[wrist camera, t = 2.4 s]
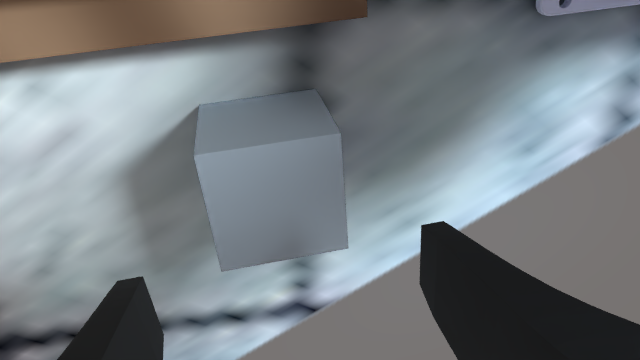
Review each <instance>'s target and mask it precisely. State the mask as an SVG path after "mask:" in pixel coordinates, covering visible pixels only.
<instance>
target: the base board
mask: <svg viewBox="0 0 640 360" xmlns="http://www.w3.org/2000/svg"><path fill="white" fill-rule="evenodd" d="M363 17H367V0H0V63H3V62H11V61H19V60H27V59H35V58H43V57H51V56H59V55H67V54H75V53H83V52H91V51H99V50H107V49H115V48H123V47H131V46H139V45H147V44H155V43H163V42H171V41H179V40H187V39H195V38H203V37H211V36H219V35H227V34H235V33H243V32H251V31H259V30H267V29H275V28H283V27H291V26H299V25H307V24H315V23H323V22H331V21H339V20H347V19H355V18H363Z"/></svg>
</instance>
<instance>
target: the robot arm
mask: <svg viewBox="0 0 640 360" xmlns="http://www.w3.org/2000/svg"><path fill="white" fill-rule="evenodd" d="M559 1H560V0H536V9H537V11H538V12H539V13H540V14H542V15H546V16H555V15H562V14H570V13H578V12H585V11H593V10H600V9H608V8H616V7H623V6H631V5H639V4H640V0H565V1H564V3H563V4H562V5H561V6H559ZM420 286H421V288H422V291H423V293H424V296H425V298H426V301H427V303H428V305H429V308H430V310H431V312H432V315H433V317H434V319H435V320H436V322H437V324H438V326H439V328H440V329H441V331H442V333H443V335H444V336H445V338H446V340H447V342H448V343H449V345H450V347H451V349H452V350H453V352H454V354H455V355H456V357H457V359H458V360H640V325H639V324H636V323H634V322H631V321H628V320H626V319H624V318H621V317H618V316H616V315H613V314H611V313H608V312H606V311H603V310H601V309H598V308H596V307H594V306H591V305H589V304H587V303H585V302H582V301H580V300H578V299H576V298H574V297H572V296H570V295H568V294H565V293H563V292H561V291H559V290H557V289H555V288H553V287H551V286H549V285H547V284H545V283H544V282H542V281H540V280H538V279H536V278H534V277H532V276H531V275H529V274H527V273H525V272H524V271H522V270H520V269H518V268H516V267H515V266H513V265H511V264H510V263H508V262H507V261H505V260H503V259H502V258H500V257H498V256H497V255H495V254H493V253H492V252H490V251H489V250H487V249H485V248H484V247H483V246H481V245H479V244H478V243H476V242H475V241H473V240H472V239H470V238H469V237H467V236H466V235H464V234H463V233H461V232H460V231H458V230H457V229H455V228H453V227H452V226H450V225H449V224H447V223H445V222H444V221H442V222H436V223H431V224H425V225H421V256H420ZM163 342H164V334H163V331H162V329H161V326H160V323H159V320H158V317H157V315H156V312H155V309H154V306H153V303H152V301H151V298H150V295H149V292H148V289H147V287H146V284H145V281H144V278H143V276H142V277H136V278H131V279H125V280H120V281H117V282H116V284H115V285H114V286H113V287H112V289H111V290H110V291H109V293H108V294H107V295H106V297H105V298H104V299H103V301H102V302H101V303H100V305H99V306H98V307H97V309H96V310H95V311H94V313H93V314H92V316H91V317H90V318H89V320H88V321H87V322H86V324H85V325H84V326H83V328H82V329H81V330H80V331H79V333H78V334H77V335H76V337H75V338H74V339H73V340H72V342H71V343H70V344H69V346H68V347H67V348H66V349H65V351H64V352H63V353H62V354H61V356H60V357H59V358H58V359H57V360H163Z"/></svg>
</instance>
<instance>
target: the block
mask: <svg viewBox="0 0 640 360" xmlns="http://www.w3.org/2000/svg"><path fill="white" fill-rule="evenodd" d="M193 156H194V160H195V164H196V168H197V172H198V176H199V181H200V185H201V189H202V193H203V197H204V201H205V205H206V209H207V214H208V218H209V222H210V226H211V230H212V234H213V238H214V242H215V246H216V251H217V255H218V259H219V263H220V267H221V271H227V270H233V269H238V268H244V267H249V266H255V265H260V264H265V263H271V262H276V261H282V260H287V259H293V258H298V257H304V256H309V255H314V254H320V253H325V252H331V251H336V250H342V249H347V248H348V235H347V219H346V203H345V188H344V172H343V156H342V140H341V132H340V130H339V129H338V127H337V125H336V123H335V122H334V120H333V118H332V116H331V115H330V113H329V111H328V109H327V108H326V106H325V104H324V102H323V101H322V99H321V97H320V95H319V94H318V92H317V90H316V89H310V90H303V91H296V92H289V93H282V94H274V95H267V96H260V97H253V98H246V99H239V100H231V101H224V102H217V103H210V104H203V105H199V111H198V120H197V129H196V137H195V146H194V155H193Z"/></svg>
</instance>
